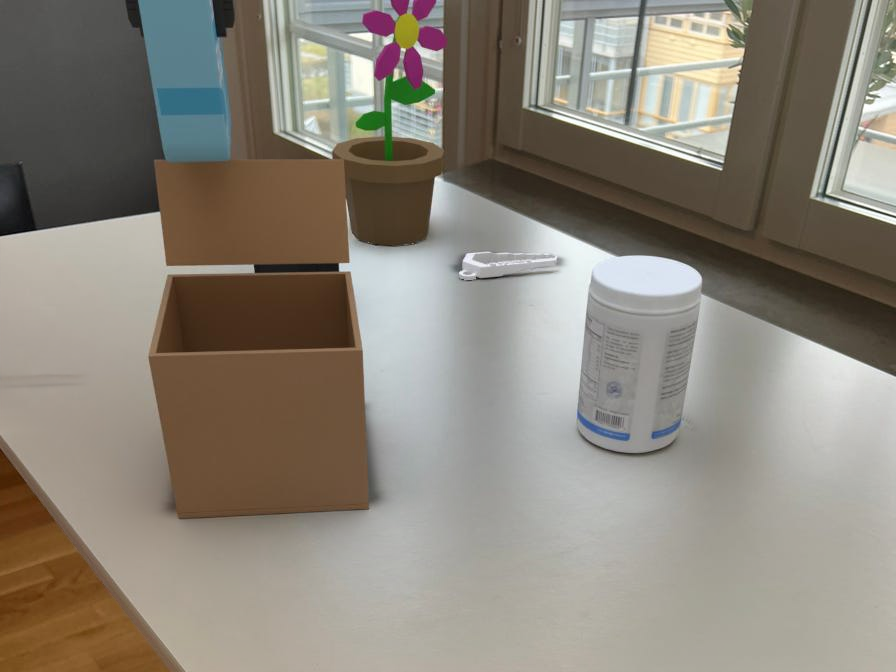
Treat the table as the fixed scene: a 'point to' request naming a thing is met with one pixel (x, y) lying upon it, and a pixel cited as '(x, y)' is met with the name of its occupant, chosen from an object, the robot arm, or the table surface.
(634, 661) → the table surface
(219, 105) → the data package
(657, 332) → the supplement tub
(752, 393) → the table surface
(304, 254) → the flap
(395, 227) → the flowerpot
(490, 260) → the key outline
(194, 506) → the carton
